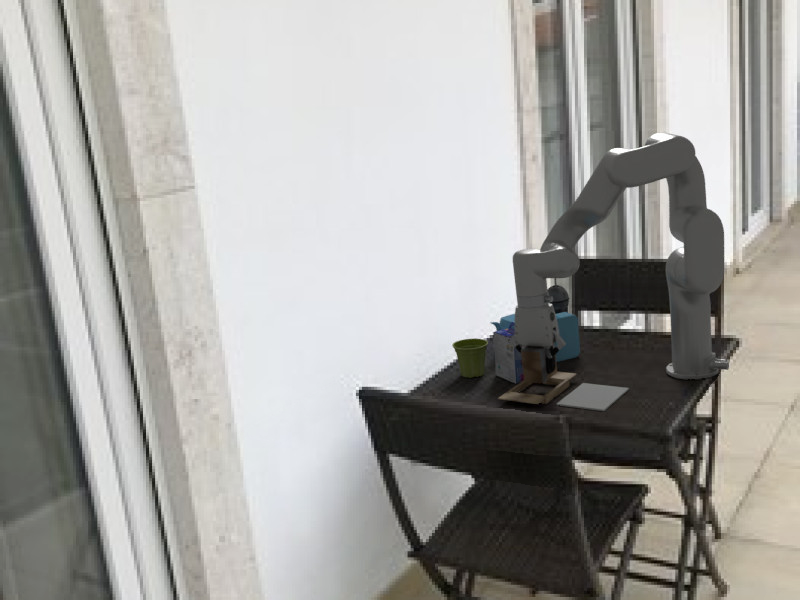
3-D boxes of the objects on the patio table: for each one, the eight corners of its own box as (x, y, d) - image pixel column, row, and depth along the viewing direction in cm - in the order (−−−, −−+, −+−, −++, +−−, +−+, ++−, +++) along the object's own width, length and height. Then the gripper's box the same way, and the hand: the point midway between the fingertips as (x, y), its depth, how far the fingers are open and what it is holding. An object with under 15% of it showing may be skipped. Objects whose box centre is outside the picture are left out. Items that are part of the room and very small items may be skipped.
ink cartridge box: (534, 379, 248) (530, 325, 245) (516, 384, 246) (512, 330, 242) (512, 370, 257) (508, 318, 253) (495, 375, 255) (490, 323, 251)
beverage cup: (546, 341, 278) (541, 274, 273) (546, 334, 285) (542, 268, 280) (572, 340, 277) (567, 272, 272) (571, 333, 284) (567, 266, 279)
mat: (629, 389, 234) (628, 388, 234) (604, 411, 222) (604, 409, 222) (583, 384, 241) (583, 382, 241) (556, 405, 229) (556, 403, 229)
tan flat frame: (577, 380, 244) (576, 373, 244) (538, 410, 227) (537, 403, 227) (539, 376, 250) (538, 369, 250) (498, 404, 233) (498, 397, 233)
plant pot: (467, 367, 264) (464, 336, 262) (497, 370, 258) (494, 339, 256) (448, 378, 257) (445, 347, 255) (479, 382, 251) (476, 350, 249)
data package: (571, 352, 267) (569, 310, 264) (580, 356, 262) (578, 314, 260) (533, 361, 262) (530, 319, 260) (542, 365, 258) (539, 322, 255)
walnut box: (557, 372, 240) (554, 341, 238) (543, 383, 233) (539, 351, 231) (539, 370, 243) (535, 340, 241) (524, 381, 236) (520, 350, 234)
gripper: (571, 297, 231) (578, 368, 236) (509, 295, 241) (516, 363, 245) (558, 305, 225) (565, 379, 230) (494, 303, 235) (502, 373, 240)
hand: (540, 370), depth 238 cm, fingers closed on walnut box, 5 cm apart
